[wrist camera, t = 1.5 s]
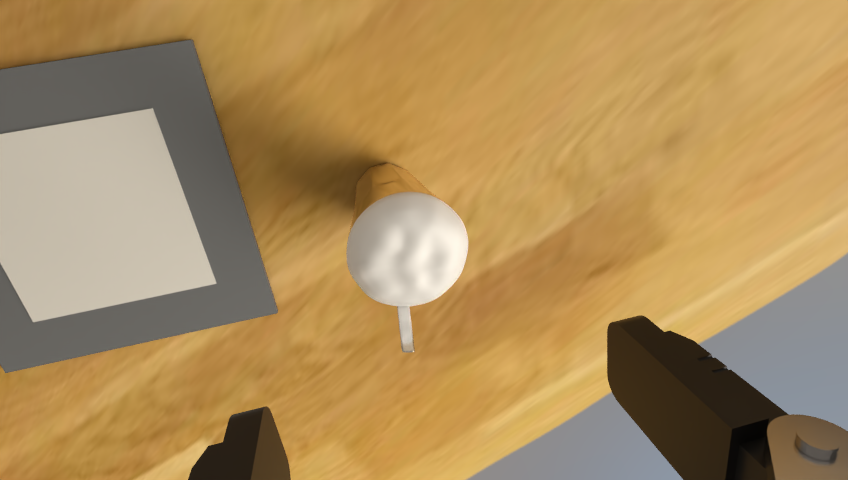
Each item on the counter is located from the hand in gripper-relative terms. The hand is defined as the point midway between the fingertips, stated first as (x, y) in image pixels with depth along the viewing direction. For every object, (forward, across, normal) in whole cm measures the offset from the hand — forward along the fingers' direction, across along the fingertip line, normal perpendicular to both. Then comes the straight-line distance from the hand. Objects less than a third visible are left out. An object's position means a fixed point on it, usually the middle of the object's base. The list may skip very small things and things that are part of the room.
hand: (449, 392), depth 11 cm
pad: (+16, +14, -2) cm, 21 cm away
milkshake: (+16, 0, 0) cm, 16 cm away
